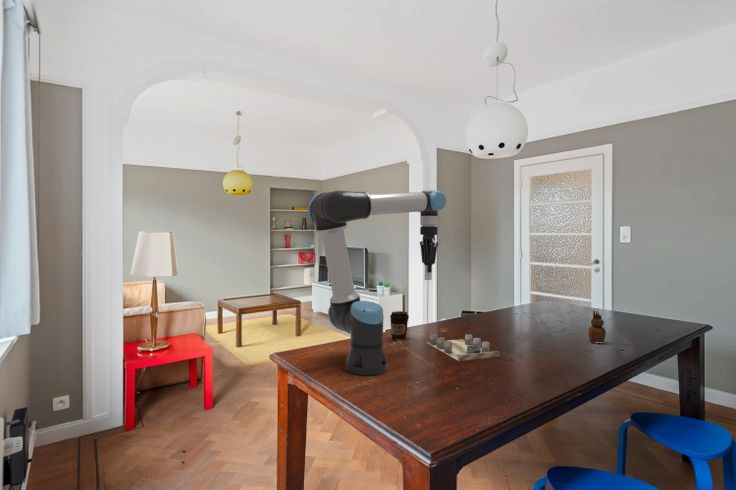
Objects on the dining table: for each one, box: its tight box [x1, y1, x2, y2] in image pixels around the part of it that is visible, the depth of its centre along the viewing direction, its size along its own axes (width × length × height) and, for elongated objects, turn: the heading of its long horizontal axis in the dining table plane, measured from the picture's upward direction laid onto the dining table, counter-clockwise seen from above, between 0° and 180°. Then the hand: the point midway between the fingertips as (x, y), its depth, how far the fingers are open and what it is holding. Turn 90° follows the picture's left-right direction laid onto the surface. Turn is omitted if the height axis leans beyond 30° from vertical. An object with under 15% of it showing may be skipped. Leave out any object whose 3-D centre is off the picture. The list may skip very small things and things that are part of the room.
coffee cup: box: [389, 310, 409, 343], centre depth 182 cm, size 9×8×13 cm
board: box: [426, 333, 500, 362], centre depth 165 cm, size 18×26×6 cm
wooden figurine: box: [587, 309, 607, 343], centre depth 182 cm, size 7×6×15 cm
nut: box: [467, 346, 481, 354], centre depth 157 cm, size 6×5×3 cm
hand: (428, 279), depth 177 cm, fingers closed
